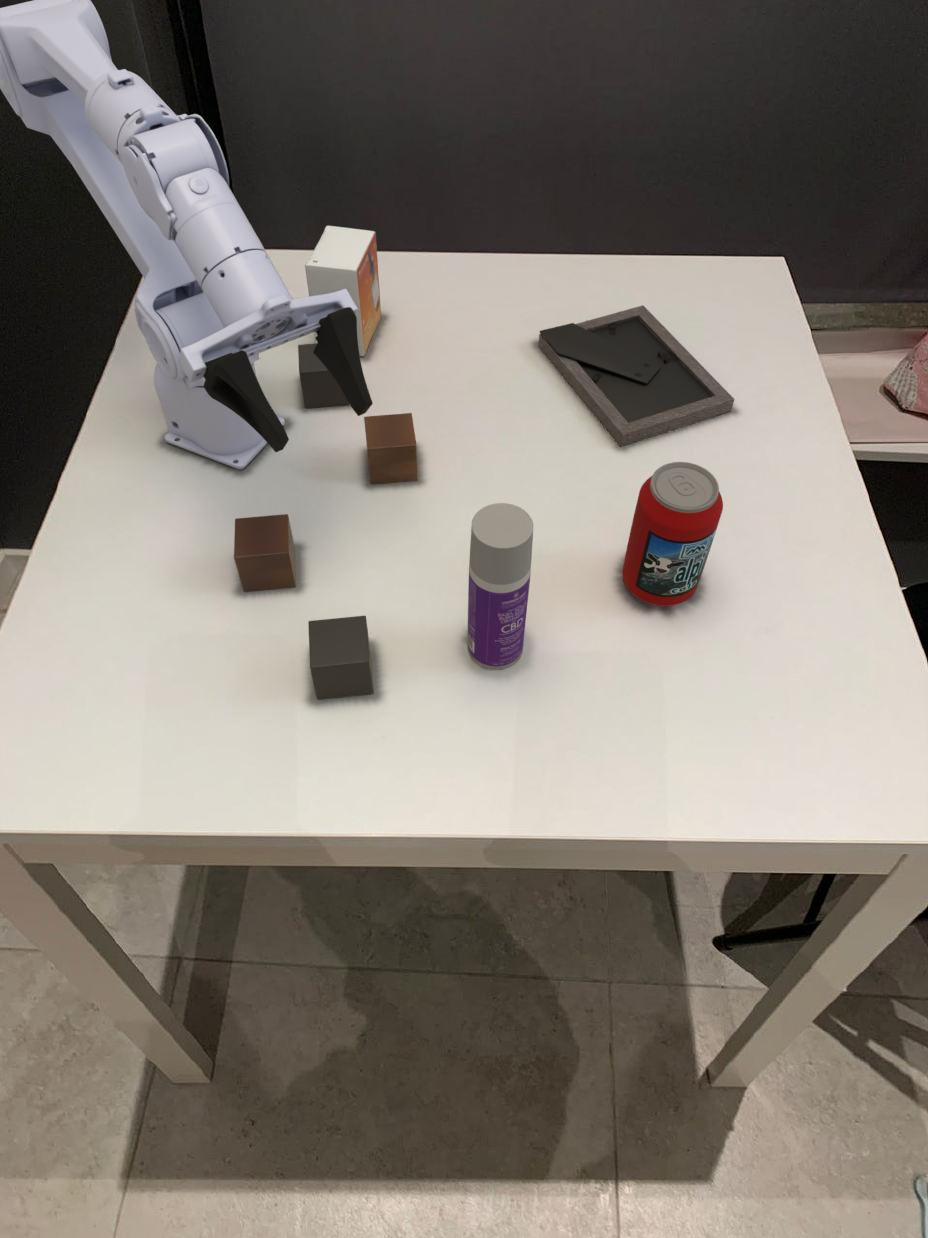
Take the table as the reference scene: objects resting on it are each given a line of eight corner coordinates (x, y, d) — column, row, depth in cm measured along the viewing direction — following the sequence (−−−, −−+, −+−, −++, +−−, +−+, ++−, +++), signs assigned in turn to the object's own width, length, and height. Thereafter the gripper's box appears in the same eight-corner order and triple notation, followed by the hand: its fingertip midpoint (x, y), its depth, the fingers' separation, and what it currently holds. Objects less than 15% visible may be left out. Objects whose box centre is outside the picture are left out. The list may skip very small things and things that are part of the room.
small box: (364, 358, 102) (356, 271, 94) (315, 351, 103) (303, 264, 94) (382, 315, 107) (377, 229, 98) (335, 309, 107) (326, 223, 99)
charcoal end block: (304, 408, 97) (299, 372, 93) (303, 380, 100) (298, 344, 96) (349, 405, 97) (345, 368, 94) (346, 377, 100) (342, 340, 96)
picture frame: (538, 345, 104) (620, 446, 94) (539, 330, 102) (623, 431, 92) (640, 316, 107) (731, 411, 97) (643, 301, 105) (735, 395, 96)
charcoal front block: (316, 700, 75) (309, 667, 71) (314, 653, 78) (308, 620, 74) (373, 694, 76) (369, 661, 72) (369, 648, 78) (365, 614, 75)
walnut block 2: (370, 484, 90) (367, 448, 86) (367, 452, 93) (363, 416, 89) (417, 480, 90) (416, 444, 87) (413, 448, 93) (411, 412, 90)
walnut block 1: (243, 592, 82) (233, 557, 78) (244, 553, 85) (234, 518, 81) (296, 587, 82) (288, 552, 79) (295, 548, 85) (287, 513, 81)
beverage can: (648, 622, 80) (674, 527, 71) (605, 569, 84) (625, 471, 74) (712, 594, 82) (745, 498, 73) (667, 543, 86) (694, 445, 76)
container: (504, 679, 77) (514, 559, 65) (456, 654, 78) (457, 532, 66) (533, 640, 79) (547, 517, 67) (485, 616, 80) (491, 492, 68)
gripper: (153, 272, 64) (253, 443, 65) (328, 216, 71) (417, 372, 71) (144, 322, 71) (235, 477, 71) (305, 266, 77) (387, 409, 78)
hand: (325, 427), depth 72 cm, fingers open, 7 cm apart
